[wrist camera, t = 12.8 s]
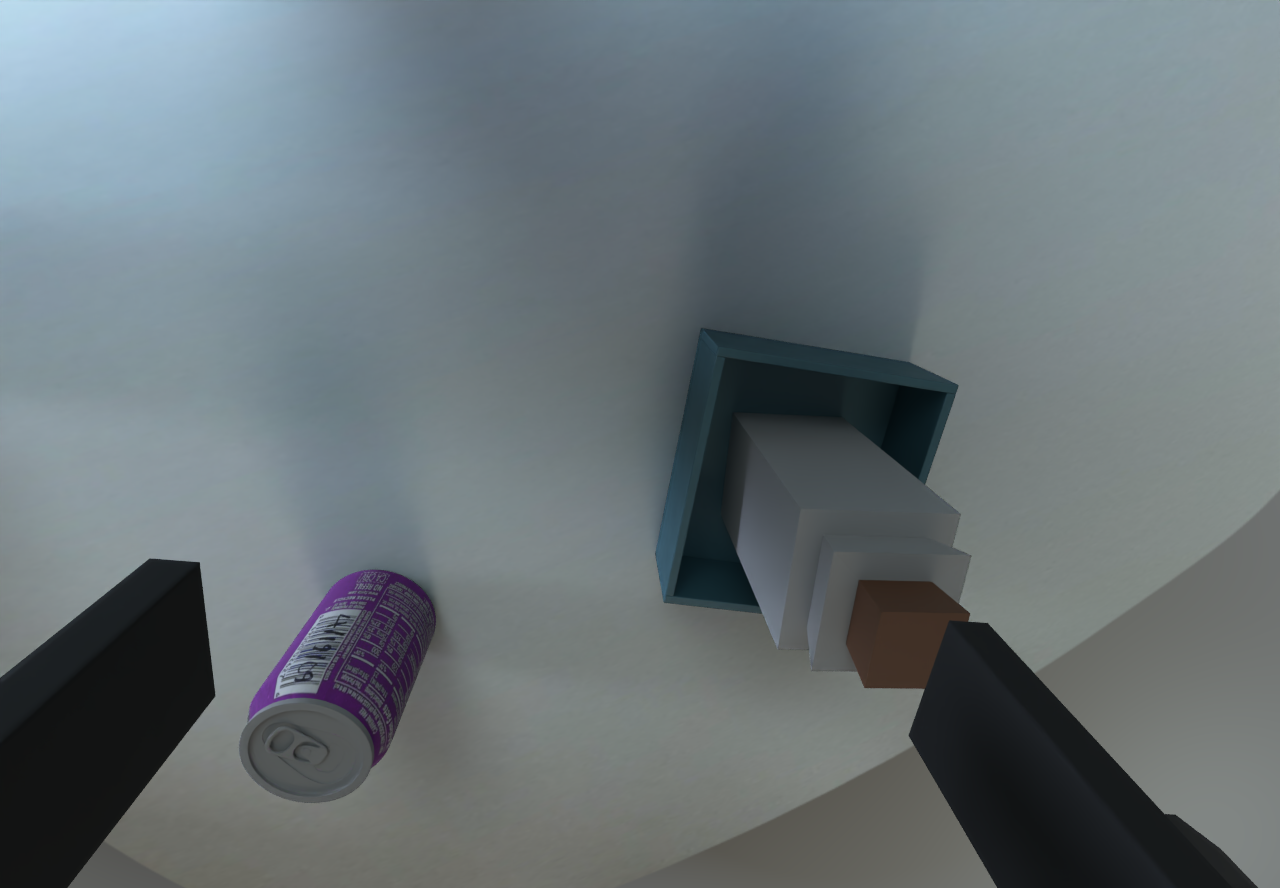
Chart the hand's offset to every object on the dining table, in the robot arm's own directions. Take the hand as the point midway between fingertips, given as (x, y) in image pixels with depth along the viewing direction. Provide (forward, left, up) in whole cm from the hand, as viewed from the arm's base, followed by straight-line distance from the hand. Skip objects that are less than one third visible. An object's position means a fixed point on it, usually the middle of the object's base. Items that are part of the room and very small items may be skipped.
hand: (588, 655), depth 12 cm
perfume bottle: (+5, +12, -27) cm, 30 cm away
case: (+5, +12, -28) cm, 31 cm away
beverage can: (+19, -11, -28) cm, 35 cm away
